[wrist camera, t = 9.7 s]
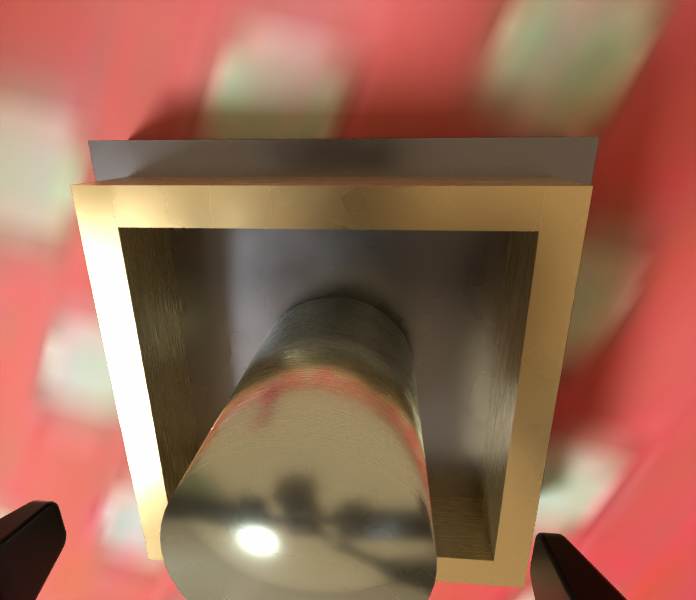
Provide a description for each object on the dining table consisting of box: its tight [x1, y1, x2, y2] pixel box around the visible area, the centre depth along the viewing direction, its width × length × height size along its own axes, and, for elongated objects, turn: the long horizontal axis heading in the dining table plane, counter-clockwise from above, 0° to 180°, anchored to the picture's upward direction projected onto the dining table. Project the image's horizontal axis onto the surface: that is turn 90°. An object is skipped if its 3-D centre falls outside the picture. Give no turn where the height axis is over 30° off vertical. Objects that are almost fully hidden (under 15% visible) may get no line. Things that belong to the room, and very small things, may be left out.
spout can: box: [160, 297, 437, 600], centre depth 12 cm, size 5×6×7 cm
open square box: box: [70, 137, 599, 588], centre depth 14 cm, size 14×14×4 cm
